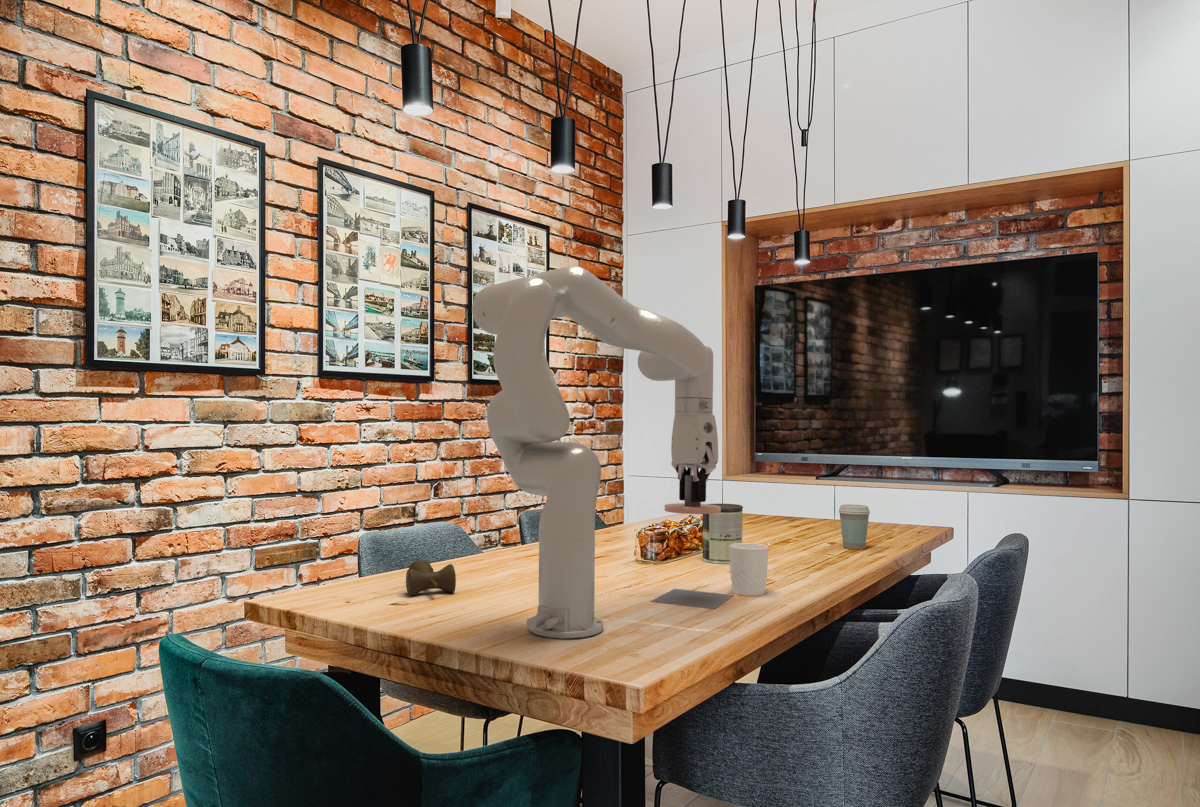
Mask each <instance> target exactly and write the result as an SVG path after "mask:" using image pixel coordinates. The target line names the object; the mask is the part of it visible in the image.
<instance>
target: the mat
mask: <svg viewBox="0 0 1200 807" xmlns="http://www.w3.org/2000/svg"><path fill="white" fill-rule="evenodd" d="M733 597H736V595H735V594H727V593H717V592H708V591H701V590H699V591H698V590H689V589H679V588H673V589H672V590H669V591H668V592H666V593H664V594H662V595H659V596H658V597H656V598H654V599H652V600H650V601H649V602H651V603H657V604H666V605H667V604H668V605H676V606H685V607H693V608H703V609H710V610H711V609H712V610H716V609H718V608H719V607H721V606H722V605H723V604H725V603H726V602H728V601H729V600H730V599H732V598H733Z"/></svg>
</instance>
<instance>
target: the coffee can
mask: <svg viewBox="0 0 1200 807" xmlns="http://www.w3.org/2000/svg"><path fill="white" fill-rule="evenodd" d="M709 504H710V505H717V506H720V507H721V512H720V513H715V514H702V561H703V562H704V563H709V564H716V565H730V551H729V545H730V544H735V543H743V508H744V506H743V505H741V504H735V503H709Z"/></svg>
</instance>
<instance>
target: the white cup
mask: <svg viewBox="0 0 1200 807" xmlns="http://www.w3.org/2000/svg"><path fill="white" fill-rule="evenodd" d="M729 551H730V564H729V570H730V581H731V592H732V593H733V594H734V595H735V594H736V595H740V596H752V597H753V596H762V595H765V594H766V593H767V592H766V590H767V589H766V587H767V580H768V578H767V576H768V565H769V564H768V563H769V546H768V545H766V544H761V543H755V542H754V543H750V542H742V543H735V544H730V545H729Z"/></svg>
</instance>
